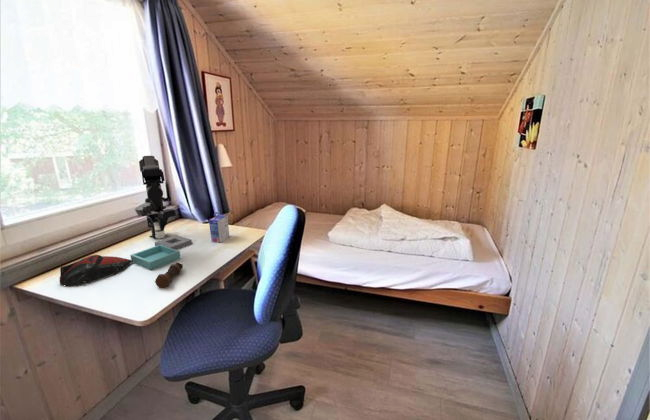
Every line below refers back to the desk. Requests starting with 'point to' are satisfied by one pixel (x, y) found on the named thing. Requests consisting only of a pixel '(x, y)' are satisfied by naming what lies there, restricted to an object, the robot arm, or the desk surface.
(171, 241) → the frame
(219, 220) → the ink cartridge box
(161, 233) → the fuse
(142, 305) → the desk surface
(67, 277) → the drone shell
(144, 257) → the parts tray
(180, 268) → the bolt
